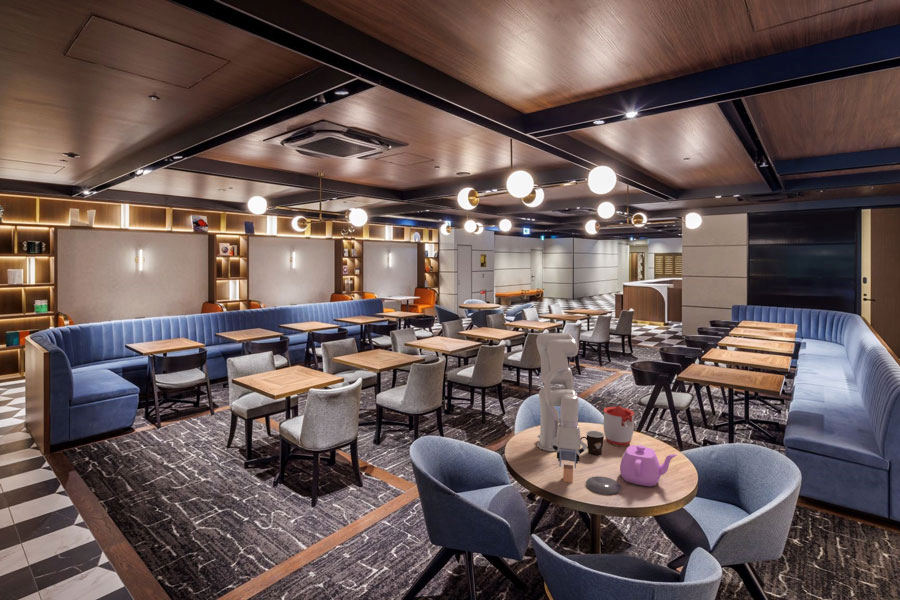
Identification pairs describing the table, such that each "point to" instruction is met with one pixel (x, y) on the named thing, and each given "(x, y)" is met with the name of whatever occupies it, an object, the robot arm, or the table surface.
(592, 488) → the charcoal dish
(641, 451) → the teapot
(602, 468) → the table surface
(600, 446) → the coffee mug
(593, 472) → the table surface
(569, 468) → the terracotta block
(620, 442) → the red and white bucket
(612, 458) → the table surface
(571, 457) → the grey angular piece
